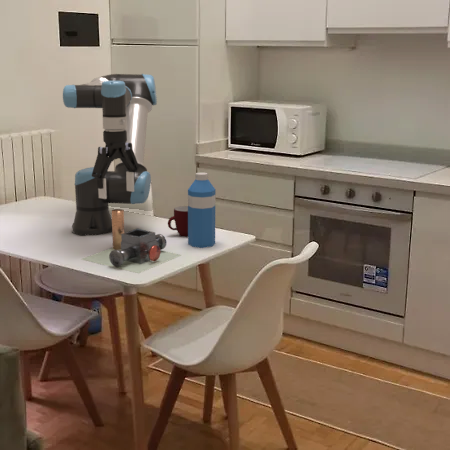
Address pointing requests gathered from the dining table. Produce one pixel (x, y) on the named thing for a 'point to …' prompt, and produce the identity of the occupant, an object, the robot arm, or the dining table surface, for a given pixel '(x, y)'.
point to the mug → (180, 220)
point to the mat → (130, 266)
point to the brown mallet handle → (117, 227)
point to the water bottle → (201, 212)
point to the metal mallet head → (138, 247)
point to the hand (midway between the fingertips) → (116, 194)
